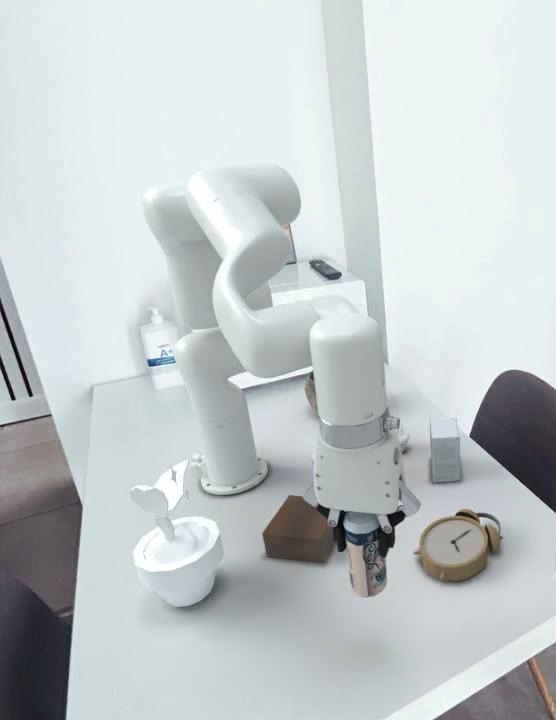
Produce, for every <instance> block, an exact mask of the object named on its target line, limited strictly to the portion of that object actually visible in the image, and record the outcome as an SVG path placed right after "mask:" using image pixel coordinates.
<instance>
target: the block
mask: <svg viewBox="0 0 556 720" xmlns="http://www.w3.org/2000/svg"><path fill="white" fill-rule="evenodd" d="M261 535H262V539H263V544H264V549H265V554H266V557H268V558H276V559H285V560H293V561H303V562H312V563H319V564H324V563H325V562H326V560H327V558H328V556H329V554H330V552H331V551H332V549H333V547H334V545H335V542H336V541H334V535H333V527H331V526H330V525H329V524H328V519H327V518H325V517H324V516H323V515H322V514H321V513H320V512H318V511H317V509H316V507H313V506H312V505H311V504H309V503H308V502H306V501H305V500H304V499H303V495H293V494H289V495H288V496H287V497H286V499H285V500H284V502H283V503H282V505H281V506H280V508H279V509H278V510H277V511H276V513H275V514H274V516H273V517H272V519H271V520H270V521H269V523H267V526H266V527H265V529H264V530H263V532H262V533H261Z"/></svg>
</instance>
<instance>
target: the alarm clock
mask: <svg viewBox="0 0 556 720" xmlns="http://www.w3.org/2000/svg"><path fill="white" fill-rule="evenodd" d="M480 518H485V519H488V520H490V521H492V522H494V523H495V524H496V525H497V527H498V529H497V528H496V527H495V526H494V525H492V524H485V525H484V526H483V525H482V524H481V520H480ZM501 530H502V529H501V522H500V520H499V519H498V518H497V517H496V516H494V515H493V514H491V513H488V512H480V511H479V512H475V511H473V510H471V509H469V508H462V509H460V510H458V511H457V512H455V514H454V515H450V516H446V517H441V518H439V519H437V520H435V521H432V522H431V523H430V524H428V526H427V527H425V529H423V531H422V533H421V534H420V537H419V542H418V546H419V549H417V550H415V551H413V554H412V555H413V556H416V555H420V559H421V563H422V566H423V568H424V569H425V571H426V572H427V573H428V574H429V575H431V576H432V577H434V578H435V579H438V580H440V581H445V582H459V581H463V580H468V579H470V578H471V577H474V576H475V575H477V574H478V573H479V572H480V571H481V570H482V569H484V568H485V565H486V564H487V561H488V560H489V553H490V554H491V555H494V554H496V553H498V551H499V550H500V548H501V542H502V540H503V539H504V536H503V535H501V532H502V531H501Z"/></svg>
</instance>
